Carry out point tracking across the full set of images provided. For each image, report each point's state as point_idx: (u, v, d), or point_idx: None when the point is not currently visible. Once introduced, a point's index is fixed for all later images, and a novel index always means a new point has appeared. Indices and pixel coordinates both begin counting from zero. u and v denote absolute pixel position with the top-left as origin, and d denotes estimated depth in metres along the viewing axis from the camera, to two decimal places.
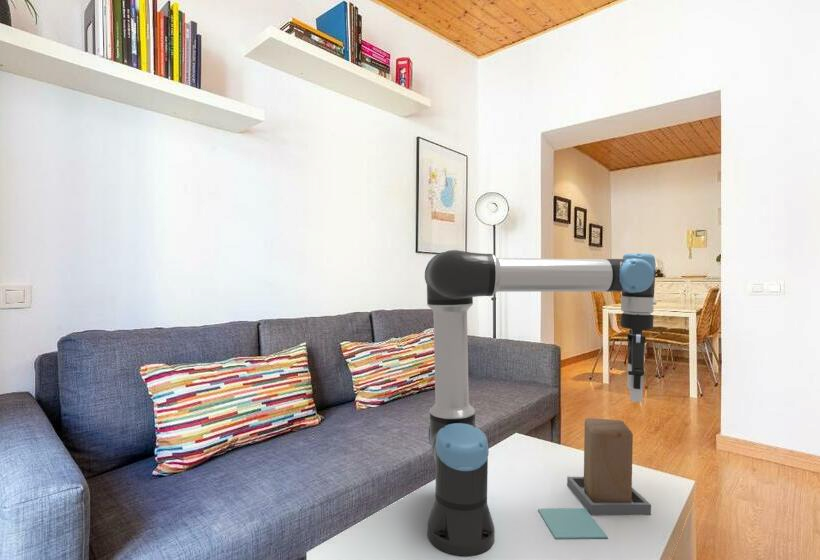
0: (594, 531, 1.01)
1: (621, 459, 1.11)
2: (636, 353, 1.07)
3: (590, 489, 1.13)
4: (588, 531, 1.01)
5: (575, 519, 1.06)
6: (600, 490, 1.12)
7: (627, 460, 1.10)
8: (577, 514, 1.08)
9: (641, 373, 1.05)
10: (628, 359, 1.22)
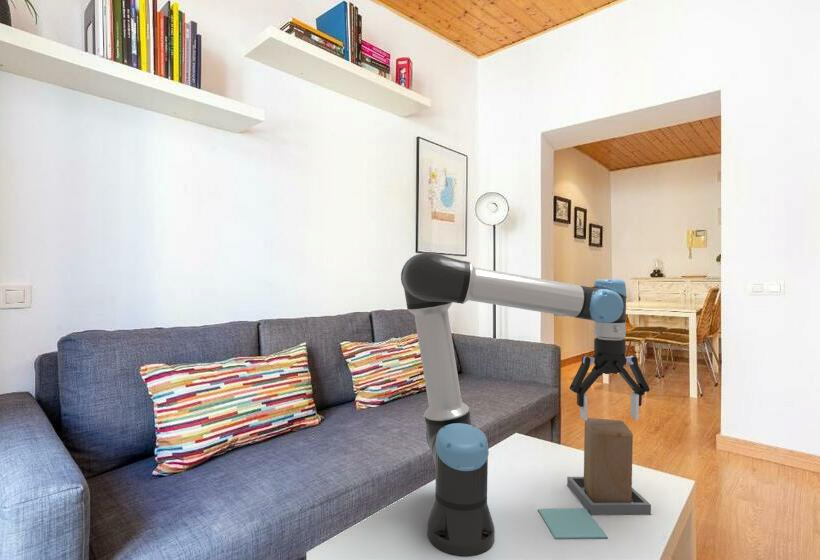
0: (594, 531, 1.01)
1: (621, 459, 1.11)
2: (578, 372, 1.16)
3: (590, 489, 1.13)
4: (588, 531, 1.01)
5: (575, 519, 1.06)
6: (600, 490, 1.12)
7: (627, 460, 1.10)
8: (577, 514, 1.08)
9: (572, 390, 1.15)
10: None
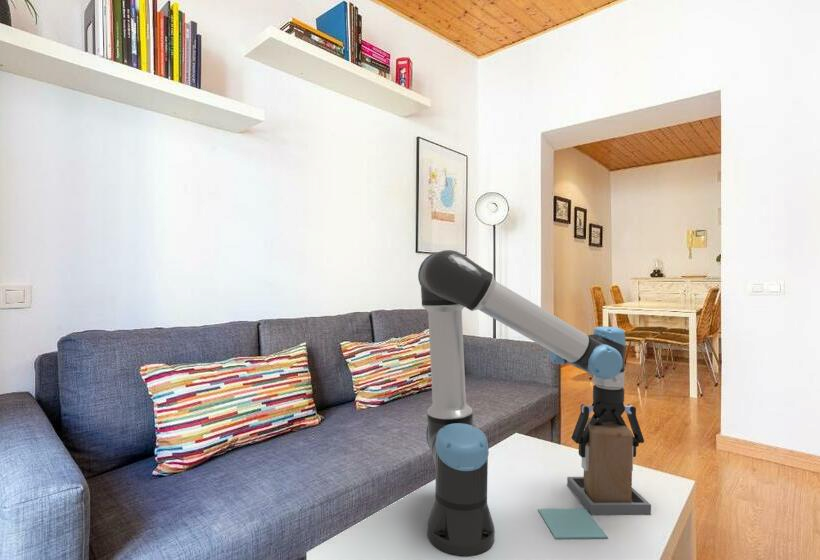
0: (594, 531, 1.01)
1: (621, 459, 1.11)
2: (578, 422, 1.16)
3: (590, 489, 1.13)
4: (588, 531, 1.01)
5: (575, 519, 1.06)
6: (600, 489, 1.12)
7: (627, 460, 1.10)
8: (577, 514, 1.08)
9: (574, 441, 1.15)
10: None
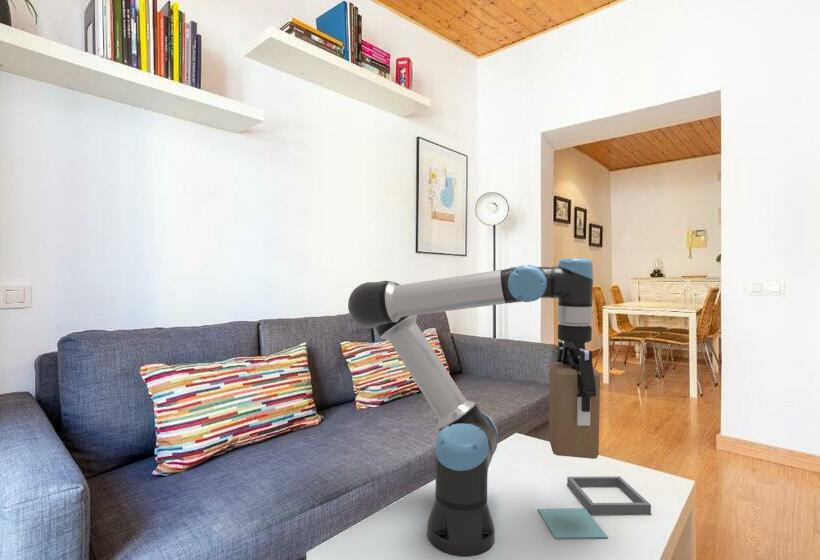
0: (594, 531, 1.01)
1: None
2: (586, 372, 0.96)
3: (596, 441, 0.99)
4: (588, 531, 1.01)
5: (575, 519, 1.06)
6: None
7: None
8: (577, 514, 1.08)
9: (594, 395, 0.95)
10: None
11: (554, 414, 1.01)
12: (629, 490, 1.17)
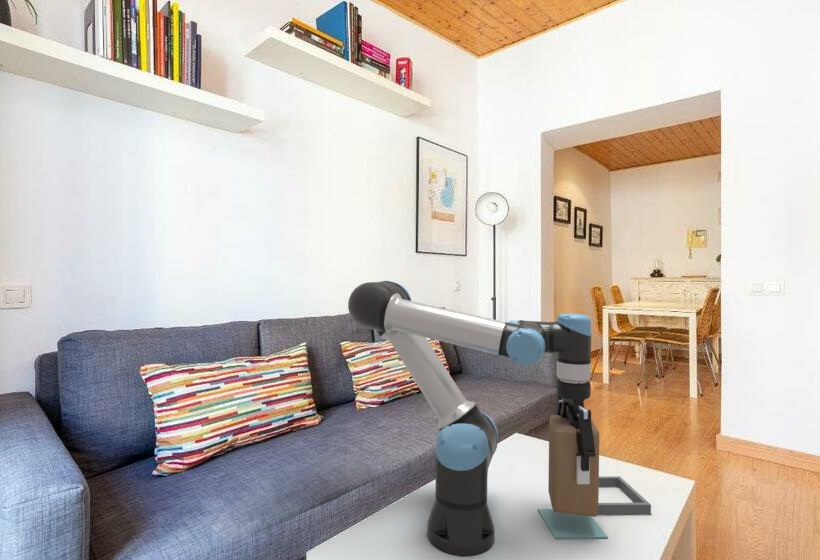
0: (594, 531, 1.01)
1: None
2: (585, 432, 0.97)
3: (596, 500, 0.99)
4: (588, 531, 1.01)
5: (575, 519, 1.06)
6: None
7: None
8: None
9: (593, 455, 0.95)
10: None
11: (554, 471, 1.01)
12: (629, 490, 1.17)
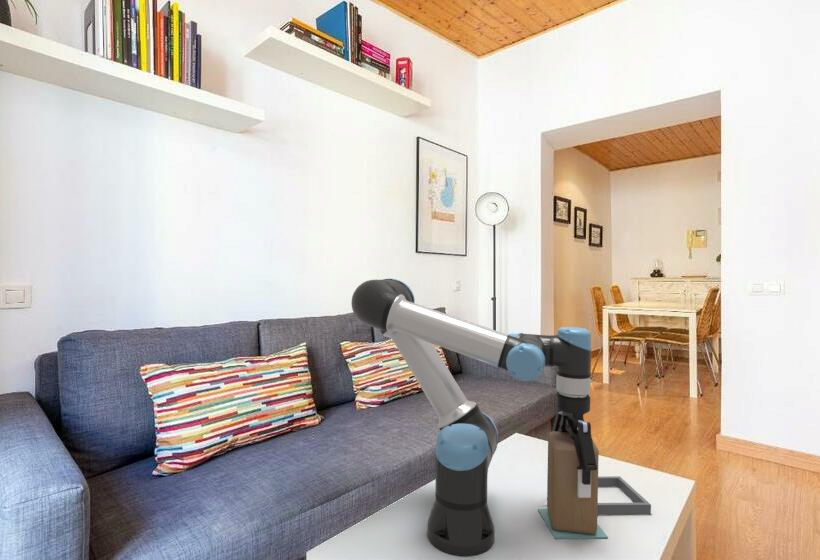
0: None
1: None
2: (586, 445, 0.96)
3: (595, 517, 0.99)
4: None
5: None
6: None
7: None
8: None
9: (594, 469, 0.94)
10: None
11: (553, 489, 1.01)
12: (629, 490, 1.17)
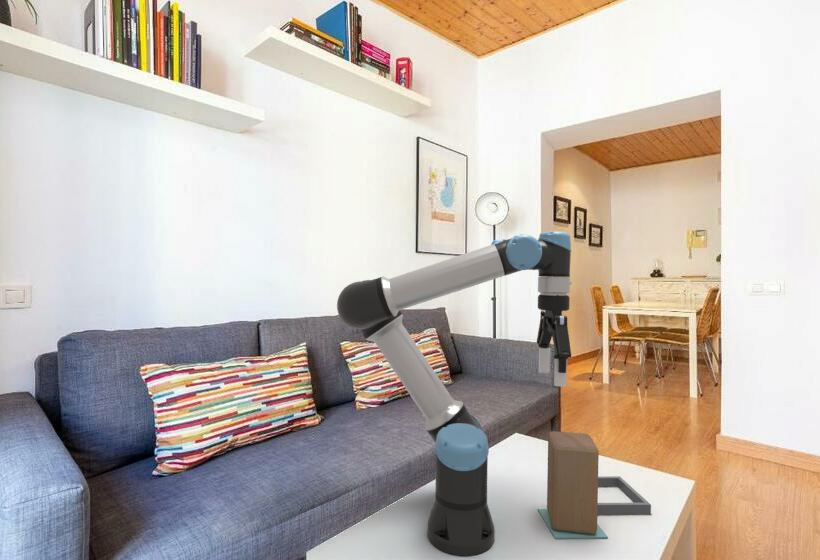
0: None
1: None
2: (561, 335, 1.02)
3: (595, 517, 0.99)
4: None
5: None
6: None
7: None
8: None
9: (569, 356, 1.00)
10: (539, 343, 1.18)
11: (553, 489, 1.01)
12: (629, 490, 1.17)
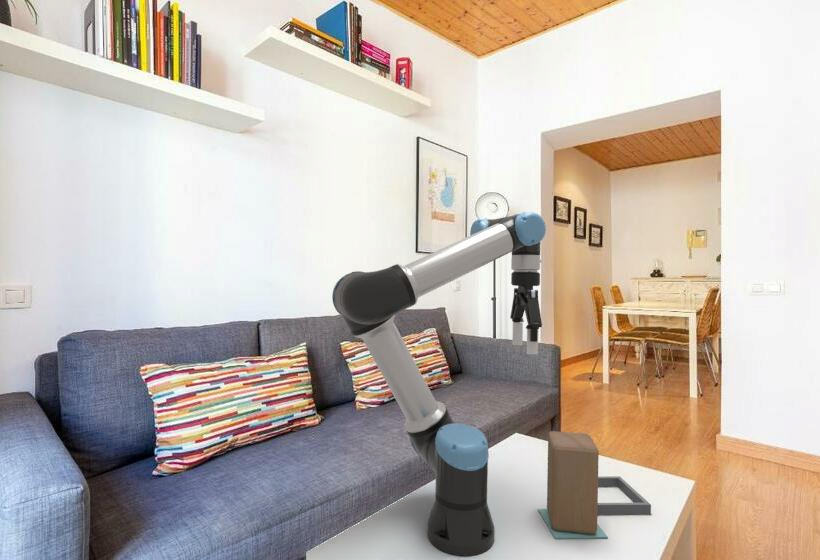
0: None
1: None
2: (533, 307, 1.11)
3: (595, 517, 0.99)
4: None
5: None
6: None
7: None
8: None
9: (539, 325, 1.10)
10: (512, 317, 1.27)
11: (553, 489, 1.01)
12: (629, 490, 1.17)
